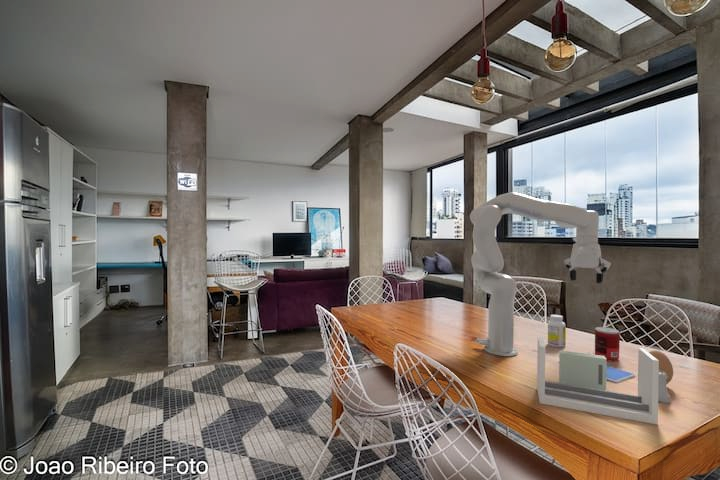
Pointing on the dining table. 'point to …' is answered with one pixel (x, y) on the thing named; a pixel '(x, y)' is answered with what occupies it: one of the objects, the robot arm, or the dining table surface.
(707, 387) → the dining table surface
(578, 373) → the door panel
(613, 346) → the canned food
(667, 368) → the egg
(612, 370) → the tablet computer
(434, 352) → the dining table surface
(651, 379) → the cabinet base
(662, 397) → the rook chess piece
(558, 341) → the supplement bottle
